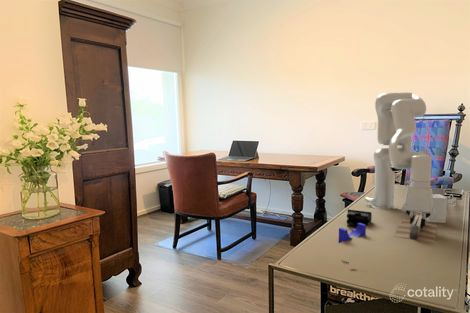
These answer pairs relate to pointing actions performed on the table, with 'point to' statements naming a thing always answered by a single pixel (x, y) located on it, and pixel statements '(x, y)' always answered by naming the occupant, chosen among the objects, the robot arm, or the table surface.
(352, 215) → the end cap
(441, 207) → the supplement box
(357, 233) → the blue cradle stand
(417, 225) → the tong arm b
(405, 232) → the tong board
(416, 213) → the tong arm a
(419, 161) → the robot arm
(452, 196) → the eyeglasses
